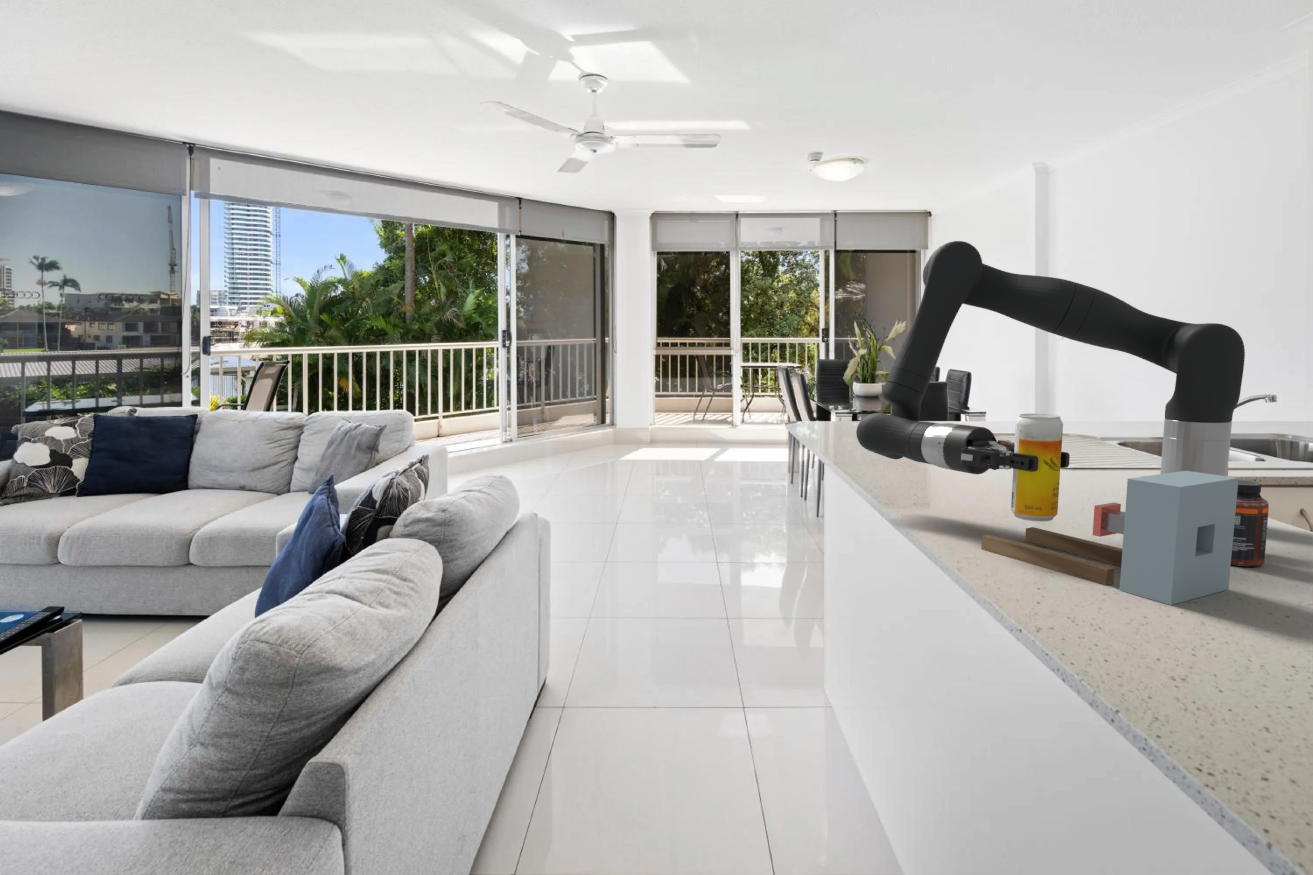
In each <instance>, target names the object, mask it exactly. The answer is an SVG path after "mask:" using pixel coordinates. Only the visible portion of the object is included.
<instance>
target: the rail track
mask: <svg viewBox="0 0 1313 875" xmlns="http://www.w3.org/2000/svg"><path fill="white" fill-rule="evenodd" d="M1024 540H1025V542H1028V543H1033V544H1036V545H1040V546H1043V547H1047V548H1050V549H1054V550H1058V551H1062V552H1067V553H1070V554H1073V555H1077V556H1081V557H1085V558H1089V559H1092V560H1096V561H1100V562H1104V563H1108V564H1112V565H1116V566H1119V567H1121V564H1122V550H1123V548H1122V547H1121V548H1120V547H1117V546H1112V545H1108V544H1104V543H1100V542H1095V541H1092V540H1088V539H1083V538H1079V537H1075V536H1070V535H1067V534H1064V533H1063V534H1062V533H1059V532H1056V531H1049V530H1046V529H1042V528H1040V527H1039V528H1038V527H1035V526H1032V527H1026V528H1025V538H1024ZM980 546H981V550H983V551H988V552H991V553H994V554H998V555H1000V556H1005V557H1008V558H1011V559H1015V560H1019V561H1021V562H1026V563H1028V564H1032V565H1036V566H1039V567H1042V568H1046V569H1049V570H1051V571H1052V570H1053V571H1056V572H1060V573H1063V574H1066V575H1070V576H1073V577H1077V578H1080V579H1084V580H1087V581H1091V582H1094V583H1096V584H1097V583H1098V584H1101V585H1104V586H1107V585H1111V584H1114V582H1115V570H1116V568H1115V567H1112V566H1108V565H1104V564H1101V563H1097V562H1093V561H1090V560H1086V559H1083V558H1080V557H1075V556H1072V555H1068V554H1064V553H1060V552H1058V551H1057V552H1056V551H1053V550H1049V549H1045V548H1042V547H1037V546H1034V545H1030V544H1027V543H1023V542H1019V541H1015V540H1011V539H1009V538H1003V537H1001V536H997V535H992V534H983V535H982V536H981V545H980Z"/></svg>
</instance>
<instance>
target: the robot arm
mask: <svg viewBox="0 0 1313 875" xmlns="http://www.w3.org/2000/svg"><path fill="white" fill-rule="evenodd" d="M922 280H923V284H924V289H923V295H922V297H921V301H920V303H919V304H920V305H919V307H918V310H917V312H916V315H915V318H914V319H913V322H912V324H911V326H910V328H909V330H908V332H907V334H906V336H905V338H904V341H903V342H902V343H901V346H900V348H899V349H898V350H899V351H898V352H897V355H896V357H895V359H894V362H892V366H891V369H890V371H889V374H888V376H887V378H886V381H885V383H884V386H883V389H882V397H883V399H884V401H885V400H886V401H887V402H888V403H889V404H890V405H891V414H889V413H884V412H875V413H870V414H868V415H866V416H864V417H863V418H862V419H861V420H860V421H859V423H858V425H857V427H856V430H855V432H856V435H855V436H856V438H857V441H858V443H859V445H860V446H861V447H863V449H864V450H867V451H869V452H872V453H875V454H878V455H880V456H883V457H885V458H888V459H891V460H901V459H903V458H906V459H909V460H911V461H914V462H917V463H922V464H927V465H932V466H936V467H937V468H941V469H945V470H950V471H955V472H959V473H960V472H961V473H967V474H971V475H982V474H984V473H986V472H987V471H989V470H993V471H997V470H1013V469H1018V470H1024V471H1030V472H1034V471H1037V470H1038V457H1037V456H1033V455H1026V454H1020V453H1014V446H1015V441H1011V440H1008V439H998V440H997V439H996V436H995V435H994V433H993V432H992V431H991V430H990V429H989V428H987V427H984V426H977V425H976V426H975V425H967V424H959V423H952V422H951V423H949V422H948V423H947V422H945V423H941V422H933V421H932V422H931V421H921V420H920V417H921V410H922V409H921V406H922V401H923V399H924V396H925V394H926V391H927V389H928V387H929V384H930V382H931V379H932V376H933V375H934V374H933V373H934V371H935V369H936V366H937V364H938V361H939V357H940V355H941V353H942V350H943V347H944V344H945V342H946V339H947V337H948V334H949V331H950V329H951V327H952V325H953V323H954V321H955V319H956V316H957V315H958V313H959V310H960V308H961V307H962V306H963V305H966V306H970V307H975V308H980V309H984V310H988V311H991V312H994V313H997V314H1000V315H1003V316H1005V317H1007V318H1010V319H1012V320H1014V321H1017V322H1019V323H1022V324H1025V325H1029V326H1031V327H1034V328H1035V329H1036V328H1037V329H1039V330H1042V331H1045V332H1046V333H1050V334H1054V335H1056V336H1059V337H1062V338H1066V339H1069V340H1072V341H1075V342H1079V343H1083V344H1086V345H1091V346H1093V347H1099V348H1103V349H1109V350H1113V351H1117V352H1123V353H1125V354H1126V353H1127V354H1129V355H1133V356H1135V357H1137V358H1140V359H1142V360H1144V361H1147V362H1149V363H1152V364H1153V365H1156V366H1158V367H1159V368H1160V367H1161V368H1162V369H1165V370H1167V371H1170V372H1171V373H1173V374H1176V377H1175V384H1174V391H1173V395H1172V396H1171V398H1170V399H1169V400H1168V402H1166V404H1165V409H1164V425H1163V438H1162V449H1161V450H1162V452H1161V460H1160V461H1161V464H1160V472H1159V473H1160V474H1165V473H1173V472H1180V471H1192V472H1199V473H1206V474H1213V475H1220V476H1228V477H1229V460H1230V448H1231V436H1232V423H1233V415H1234V412H1235V409H1236V408H1237V405H1238V404H1239V401H1240V398H1241V390H1242V382H1243V375H1244V367H1245V359H1246V358H1245V357H1246V354H1245V352H1246V351H1245V344H1244V340H1243V338H1242V336H1241V335H1240V334H1239V332H1238V331H1237V330H1235V329H1234V328H1233V327H1231V326H1229V325H1226V324H1222V323H1215V322H1214V323H1212V322H1211V323H1209V322H1207V323H1206V322H1205V323H1190V322H1185V321H1179V320H1174V319H1171V318H1165V317H1162V316H1158V315H1154V314H1150V313H1148V312H1145V311H1143V310H1140V309H1138V308H1136V307H1135V306H1133V305H1131V304H1129V303H1127V302H1126V301H1124V300H1122V299H1120V298H1118V297H1116V296H1114V295H1112V294H1110V293H1108V292H1106V291H1102V290H1100V289H1098V288H1095V287H1092V286H1089V285H1085V284H1082V283H1079V282H1075V281H1072V280H1068V279H1064V278H1059V277H1052V276H1051V277H1050V276H1043V275H1032V274H1021V273H1014V272H1013V273H1012V272H1008V271H1005V270H1002V269H999V268H995V267H994V266H990V265H988V264H985V263H983V259H982V255H981V253H980V252H979V250H978V249H977V248H976V246H974V245H972V244H971V243H970V242H967V241H962V240H954V241H949V242H946V243H945V244H942V245H941V246H939V247H938V248H937V249H935V250H934V252H933V253H932V254H931V255H930V256H929V258H928V260H927V261H926V263H925V266H924V268H923V270H922ZM1070 456H1071V455H1070V453H1069V452H1067V451H1061V466H1060V469H1061V468H1063V469H1064V468H1068V467H1069V466H1070V460H1071V459H1070Z"/></svg>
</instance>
